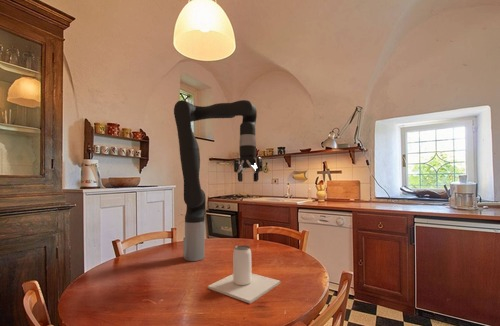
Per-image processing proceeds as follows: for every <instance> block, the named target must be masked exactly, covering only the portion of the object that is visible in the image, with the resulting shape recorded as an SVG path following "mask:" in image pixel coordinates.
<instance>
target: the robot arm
mask: <svg viewBox="0 0 500 326" xmlns="http://www.w3.org/2000/svg"><path fill="white" fill-rule="evenodd" d="M173 115H174V121H175V125H176V130H177V138H178V139H177V140H178V145H179V147H178V148H179V157H180V165H181V172H182V178H183V202H184V204H185V205H186V209H185V210H186V211H185V212H186V213H185V215H184V237H183V241H182V242H183V244H182V245H183V246H182V247H183V248H182V249H183V252H182V253H183V254H182V258H183V259H184V261H187V262H196V261H197V262H198V261H201V260H204V259H205V238H206V237H205V235H206V234H205V232H206V231H205V221H206V219H205V217H206V205H207V204H206V201H207V200H206V199H207V197H206V193H205V191H204V190H203V189H202V187H201V182H200V181H201V180H200V168H201V153H200V147H199V143H198V141H197V138H196V136H195V134H194V132H193V129H192V122H197V121H201V120H208V119H210V120H211V119H232V118H233V119H234V118H235V117H240V116H242V120H241V121H242V122H241V123H240V125H239V143H238V144H239V146H238V147H239V150H238V151H239V158H235V159H234V163H233V164H234V165H233V172H235V173H237V181H238V183H239V182H243V181H244V180H243V179H244V178H243V172H244V170H246V169H251V170H252V171H253V182H258V181H259V173H260V172H263V158H262V157H256V156H257V140H256V139H257V138H256V123H257V118H258V117H257V115H258V114H257V107H256V106H255V105H254V104H253V103H252V102H251V101H250V100H246V99H245V100H244V99H243V100H241V99H240V100H237V101H232V102H220V103H214V104H211V105H207V106H199V105H195V104H193V103H191V102H189V101H186V100H183V99H181V100H178V101H177V102H176V103H175V105H174V107H173Z"/></svg>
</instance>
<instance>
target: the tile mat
mask: <svg viewBox="0 0 500 326" xmlns="http://www.w3.org/2000/svg"><path fill="white" fill-rule="evenodd" d="M280 284H281V280H278V279H275V278H271V277H267V276H262V275H260V274H257V273H253V272H251V283H250V284H248V285H244V286H240V285H236V284H235V283H234V282H233V273H232V274H230V275H228V276H226V277H223V278H221V279H220V280H217V281H216V282H214V283H211V284H209V285H208V286H207V289H208V290H212V291H214V292H217V293H219V294H222V295H226V296H228V297H231V298H232V299H233V298H234V299H236V300H239V301H241V302H244V303H248V304H253V302H255V301H257V300H258V299H260V298H261V297H262V296H264V295H265V294H267V293H269V292H270V291H271V290H273V289H274V288H275V287H277V286H278V285H280Z"/></svg>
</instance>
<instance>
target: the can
mask: <svg viewBox="0 0 500 326" xmlns="http://www.w3.org/2000/svg"><path fill="white" fill-rule="evenodd" d="M233 248H234V250H233V251H232V252H233V253H232V267H233V268H232V274H233V282H234V283H235V284H236V285H240V286H244V285H248V284H250V283H251V273H252V250H251V246H249V245H235V246H234V247H233Z"/></svg>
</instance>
